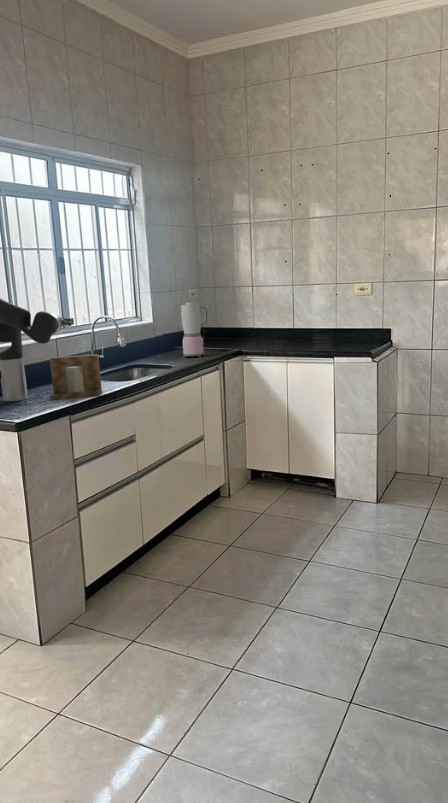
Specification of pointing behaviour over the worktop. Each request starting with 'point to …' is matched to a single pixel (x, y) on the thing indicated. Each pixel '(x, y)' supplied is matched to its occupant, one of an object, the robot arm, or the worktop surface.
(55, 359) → the wall board
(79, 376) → the skincare box
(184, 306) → the blender
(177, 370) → the worktop surface
